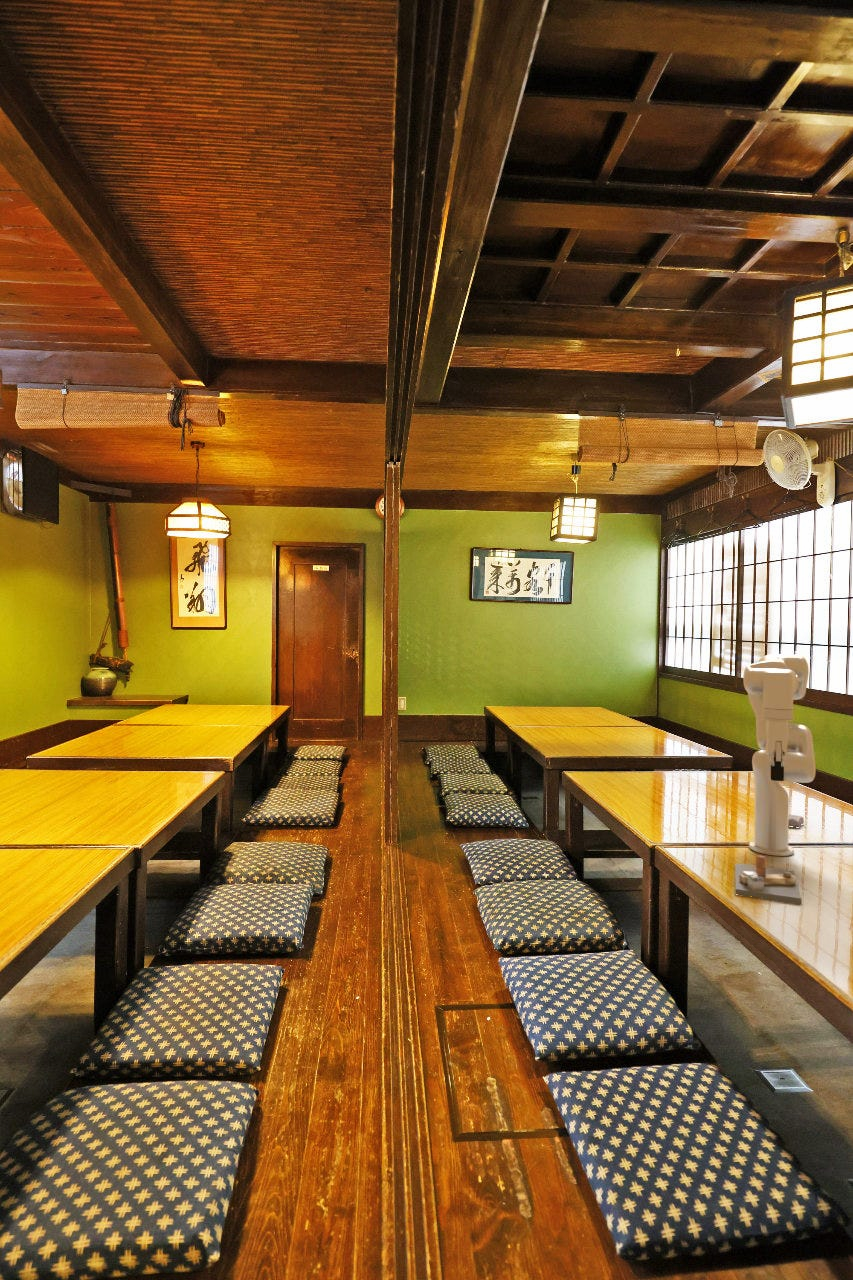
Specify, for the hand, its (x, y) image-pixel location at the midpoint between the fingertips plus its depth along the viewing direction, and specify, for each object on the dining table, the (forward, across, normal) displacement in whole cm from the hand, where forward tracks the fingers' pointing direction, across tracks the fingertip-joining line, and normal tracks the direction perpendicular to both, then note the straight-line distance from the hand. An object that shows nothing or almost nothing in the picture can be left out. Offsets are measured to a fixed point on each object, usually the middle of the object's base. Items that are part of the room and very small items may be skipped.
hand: (777, 780), depth 189 cm
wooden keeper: (+26, +16, -6) cm, 31 cm away
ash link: (+25, +11, -3) cm, 28 cm away
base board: (+27, +8, -3) cm, 29 cm away
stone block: (+28, -64, +6) cm, 70 cm away
